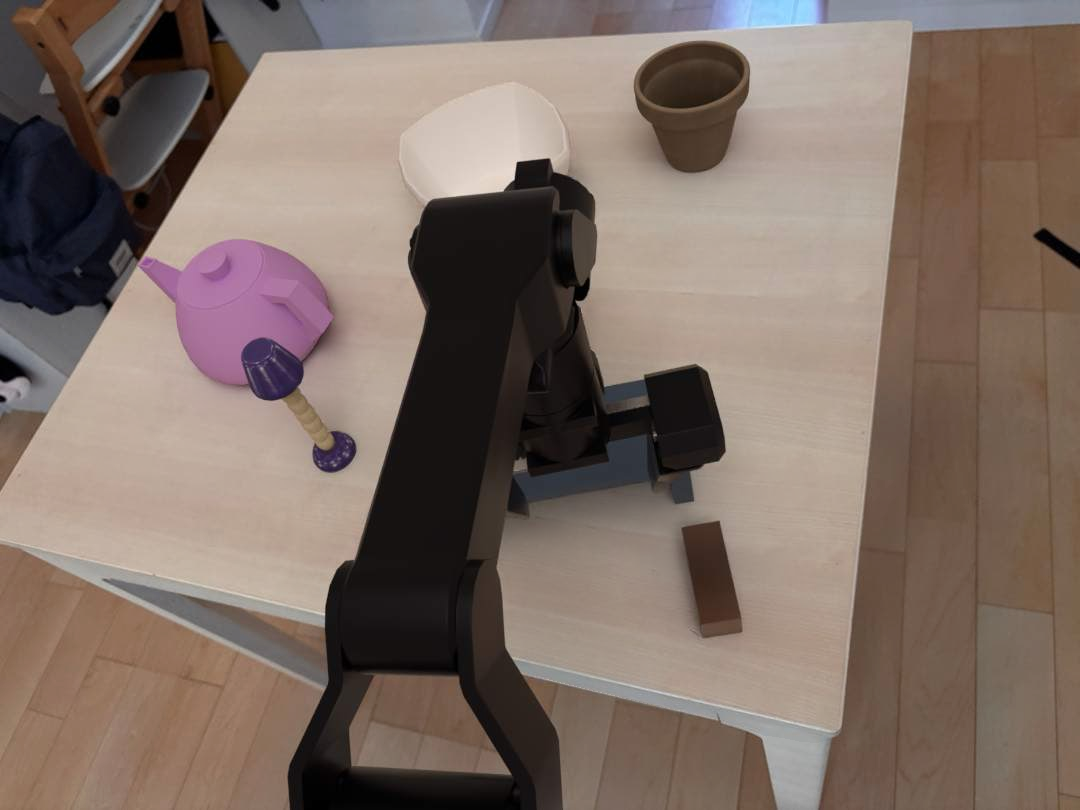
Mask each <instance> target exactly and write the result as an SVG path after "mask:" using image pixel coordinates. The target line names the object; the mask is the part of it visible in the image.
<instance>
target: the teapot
mask: <svg viewBox="0 0 1080 810" xmlns="http://www.w3.org/2000/svg"><path fill="white" fill-rule="evenodd" d="M137 267H138V268H139V269H140V270H141V271H142V272H143V273H144V274H145V275H146V276H147V277H148V278H149V279H150V280H151V281H152V282H153V283H154V284H155V285H156V286H157V287H158V288H159V289H160V290H161V291H162V292H163V293H164V294H165V295H166V297H168V298H169V299H170V300H171V302H173V303H174V305H175V319H176V320H175V321H176V328H177V333H178V336H179V339H180V343H181V345H182V347H183V349H184V351H185V353H186V354H187V356H188V358H189V360H190V361H191V363H192V364H193V365H194V366H195V368H196V369H197V370H198V371H199V372H200V373H201V374H203V375H204V376H206V377H208V378H209V379H211V380H213V381H216V382H219V383H221V384H227V385H237V386H238V385H239V386H241V385H249V383H248V380H247V377H246V374H245V371H244V368H243V365H242V361H241V353H242V351H243V349H244V347H245V346H246V345H247V344H248V343H249V342H251V341H252V340H254V339H257V338H261V337H265V338H269V339H272V340H274V341H275V342H277V343H278V344H280V345H281V346H282V347H284V348H285V349H287V350H288V351H289V352H291V353H292V354H294V355H295V356H296V357H297V358H298V359H299V360H300V361H301V362H302V361H304V360H305V359H306V358H307V357H308V355H310V354H311V352H312V350H313V349H314V348H315V346H316V344H317V343H318V341H319V339H320V338H321V337H322V334H324V333H325V331H326V329H327V328H328V326H330V324H331V322H332V321H333V319H334V318H335V315H334V314H333V313H332V312H331V311H330V310H329V298H328V294H327V290H326V288H325V286H324V284H323V283H322V281H321V280H320V279H319V277H318V276H317V274H316V273H315V272H313V270H312V269H310V267H308V266H307V265H306V264H305V263H304V262H303V261H302V260H300V259H299V258H297V257H296V256H294V255H292V254H290V253H289V252H287V251H284V250H282V249H280V248H277V247H275V246H272V245H269V244H266V243H263V242H259V241H255V240H251V239H245V238H232V239H226V240H222V241H219V242H216V243H214V244H212V245H210V246H207V247H206V248H204V249H203V250H201V251H200V252H199V253H197V254H196V255H194V257H193V258H192V259H191V260H189V262H188V263H187V264H186V265H185V267H184V268H183V270H180V269H178V268H175V267H173V266H171V265H169V264H167V263H165V262H162V261H160V260H159V259H157V258H154V257H152V256H147V255H146V256H144V257H143V258H142V259H141V261H139V263H138V264H137Z"/></svg>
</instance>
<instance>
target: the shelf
mask: <svg viewBox="0 0 1080 810" xmlns="http://www.w3.org/2000/svg"><path fill="white" fill-rule="evenodd" d="M604 388H605V393H606V394H605V395H603V398H604V401H605V404H608V403H613V402H617V401H622V400H627V399H632V398H636V397H641V396H645V395H646V394H647V389H646V384H645V380H644V378H642V379H638V380H633V381H626V382H622V383H617V384H611V385H606V386H604ZM607 450H608V456H609V461H610V462H605V463H600V464H595V465H591V466H586V467H581V468H576V469H571V470H566V471H561V472H556V473H551V474H546V475H541V476H537V477H532V478H531V476H530V474H529V472H528V471H526V472H521V473H516V474H513V475H512V476H513V477H514V479H515V480H516V482H517V484H518V485H519V487H520V488H521V490H522V491H523V493H524V495H525V498H526V500H527V503H528V504H531V503H535V502H541V501H547V500H552V499H557V498H563V497H569V496H574V495H580V494H585V493H586V494H587V493H591V492H596V491H601V490H602V491H603V490H607V489H608V490H609V489H613V488H619V487H623V486H628V485H629V486H630V485H635V484H640V483H646V482H650V478H649V474H648V468H647V434H646V435H641V436H636V437H631V438H627V439H622V440H617V441H612V442H608V444H607ZM670 485H671V488H672V493H673V499H674V503H675V505H680V504H685V503H690V502H695V494H694V489H693V481H692V474H691V471H690V472H688V473H687V474H685V475H683V476H682V477H680V478H678V479H676V480H675V481H673V482H672V483H670Z"/></svg>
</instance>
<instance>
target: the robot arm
mask: <svg viewBox="0 0 1080 810" xmlns="http://www.w3.org/2000/svg"><path fill="white" fill-rule="evenodd" d="M596 212H597V211H596V199H595V196H594V194H593V193H591V192H590V191H589V190H588V188H587V187H586V186H585V185H584V184H582V182H580V181H579V180H577V179H575V178H573V177H571V176H569V175H563V174H560V173H556V172H554V171H553V167H552V164H551V160H550V158H546V159H537V160H528V161H519V162H517V163H516V170H515V179H514V180H513V181H512V182H510V184H509V185H508V186H507V187H506V188H505V189H504V191H503V192H493V193H484V194H474V195H464V196H455V197H445V198H436V199H432V200H431V201H429V202H428V204H427V205H426V207H425V208H424V209H423V211H422V212H421V215H420V218H419V223H418V224H417V225H416V226H415V227H414V229H413V231H412V235H411V237H410V238H409V242H408V243H409V248H410V249H409V250H408V253H407V266H408V269H409V273H410V276H411V278H412V280H413V283H414V285H415V288H416V290H417V293H418V295H419V298H420V301H421V303H422V306H423V308H424V310H425V317H424V321H423V327H422V331H421V335H420V338H419V341H418V345H417V348H416V351H415V355H414V358H413V362H412V365H411V369H410V372H409V375H408V378H407V382H406V385H405V389H404V392H403V395H402V399H401V402H400V406H399V409H398V412H397V415H396V418H395V423H394V426H393V429H392V433H391V435H390V439H389V442H388V446H387V449H386V453H385V456H384V459H383V463H382V466H381V470H380V473H379V476H378V478H377V479H378V480H377V483H376V486H375V490H374V493H373V496H372V500H371V503H370V506H369V510H368V512H367V513H368V514H367V517H366V520H365V523H364V527H363V530H362V534H361V537H360V541H359V544H358V547H357V550H356V553H355V557H354V559H349V560H344V561H343V563H341V565H339V567H337V569H336V570H335V571H334V574H333V576H332V579H331V581H330V584H329V586H328V591H327V594H326V595H327V596H326V601H325V605H324V636H325V637H324V639H325V652H326V665H327V678H328V680H327V684H326V687H325V688H324V691H323V693H322V695H321V697H320V699H319V702H318V703H317V706H316V708H315V709H314V712H313V714H312V716H311V719H310V721H309V723H308V724H307V727H306V729H305V731H304V733H303V735H302V737H301V739H300V742H299V744H298V746H297V747H296V750H295V752H294V754H293V756H292V758H291V760H290V763H289V765H288V770H287V776H286V777H287V778H286V779H287V789H288V803H289V805H288V806H289V810H564V801H563V785H562V769H561V768H562V767H561V750H560V748H561V747H560V738H559V735H558V732H557V729H556V727H555V725H554V723H553V722H552V720H551V719H550V717H549V716H548V714H547V712H546V711H545V710H544V708H543V706H542V704H541V703H540V701H539V700H538V698H537V696H536V695H535V693H534V691H533V690H532V688H531V687H530V685H529V683H528V682H527V680H526V679H525V677H524V675H523V674H522V672H521V671H520V669H519V668H518V666H517V664H516V662H515V661H514V659H513V658H512V656H511V654H510V653H509V651H508V649H507V647H506V634H505V620H504V619H505V618H504V616H505V615H504V603H503V601H504V600H503V592H502V591H503V590H502V584H501V583H502V582H501V578H500V574H499V571H498V562H499V557H500V551H501V545H502V539H503V532H504V528H505V522H506V518H508V519H509V518H510V519H518V520H529V519H530V518H531V514H530V513H531V512H530V506H529V503H527V500H526V498H525V495H524V493H523V491H522V490H521V488H520V487H519V485H518V484H517V482H516V480H515V479H514V477H513V476H512V475H513V474H516V473H521V472H526V471H528V472H529V474H530V476H531V478H532V477H537V476H541V475H546V474H551V473H556V472H561V471H566V470H571V469H576V468H581V467H586V466H591V465H595V464H600V463H605V462H610V461H609V456H608V450H607V444H608V442H612V441H617V440H622V439H627V438H631V437H636V436H641V435H646V434H647V468H648V474H649V478H650V481H649V482H650V483H649V484H650V487H651V493H652V495H656V494H659V493H660V492H662V491H663V490H664V489H665V488H667V487H668V486H669V485H671V483H672V482H673V481H675V480H676V479H678V478H680V477H682V476H683V475H685V474H687V473H688V472H690V473H691V472H694V471H698V470H700V469H702V468H703V467H704V466H705V465H707V464H713V463H717V462H720V461H721V459H722V458H723V456H725V454H726V453H727V448H726V436H725V431H724V427H723V423H722V419H721V415H720V411H719V408H718V404H717V400H716V396H715V393H714V390H713V386H712V383H711V379H710V375H709V372H708V370H706V369H705V368H703V367H702V366H700V365H698V364H697V363H693V364H692V363H691V364H688V365H683V366H679V367H673V368H668V369H663V370H660V371H659V370H658V371H655V372H650V373H644V374H643V379H644V380H645V384H646V389H647V394H646V395H645V396H641V397H636V398H632V399H627V400H622V401H617V402H613V403H608V404H605V401H604V398H603V395H605V394H606V393H605V388H604V387H605V382H604V378H603V374H602V370H601V367H600V363H599V359H598V357H597V354H596V353H595V351H593V350H592V349H591V346H590V341H589V337H588V333H587V328H586V325H585V321H584V317H583V313H582V309H581V307H580V306H578V305H577V303H576V301H578V302H583V301H585V300H586V298H587V297H588V295H589V291H590V289H591V279H592V278H591V277H592V270H593V268H594V266H595V265H596V262H597V261H596V260H597V249H598V228H597V224H595V222H596ZM375 676H398V677H400V676H401V677H431V678H432V677H435V678H439V677H440V678H458V682H459V683H458V685H459V687H460V691H461V693H462V696H463V698H464V700H465V701H466V703H467V705H468V707H469V708H470V710H471V712H472V713H473V715H474V716H475V718H476V719H477V721H478V722H479V723H478V724H480V726H481V728H482V729H483V731H484V732H485V734H486V736H487V737H488V739H489V740H490V742H491V744H492V745H493V747H494V748H495V751H496V752H497V754H498V755H499V757H500V759H501V760H502V762H503V763H504V765H505V766H506V768H507V770H508V771H509V773H510V774H506V773H505V774H504V773H490V772H489V773H487V772H469V771H453V770H438V769H437V770H435V769H421V768H419V769H418V768H405V767H404V768H403V767H383V766H369V765H367V766H366V765H352V755H351V754H352V752H351V739H350V728H351V726H352V723H353V721H354V719H355V717H356V715H357V713H358V711H359V709H360V707H361V704H362V702H363V700H364V698H365V696H366V694H367V692H368V690H369V688H370V686H371V684H372V682H373V680H374V678H375Z"/></svg>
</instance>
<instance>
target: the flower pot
mask: <svg viewBox="0 0 1080 810" xmlns="http://www.w3.org/2000/svg"><path fill="white" fill-rule="evenodd" d="M750 78H751V66H750V62H749V60H748V59H747V57H746V55H744V53H742V52H741V51H740V50H739V49H737V48H736V47H734V46H732V45H729V44H727V43H724V42H720V41H715V40H714V41H713V40H690V41H683V42H679V43H675V44H672V45H669V46H667V47H665V48H663V49H661V50H658V51H657V52H655V53H654V54H652V55H651V56H649V57H648V58H647V59H646V60H645V61H644V62H643V63H642V64H641V65H640V66H639V68H638V70H637V72H635V76H634V79H633V92H634V98H635V104H636V107H637V110H638V112H639V114H640V115H641V116H642V117H643V119H645V121H646V122H648V123H649V124H651V127H652V129H653V131H654V134H655V136H656V139H657V141H658V143H659V146H660V148H661V150H662V152H663V154H664V157H665V158H666V159H667V162H668V163H669V164H670V165H671V166H672V167H673V168H675V169H676V170H679V171H682V172H687V173H696V172H697V173H698V172H703V171H707V170H709V169H711V168H713V167H715V166H717V165H718V164H720V162H722V160H723V159H724V157H725V156H726V154H727V151H728V148H729V145H730V141H731V138H732V135H733V132H734V127H735V122H736V118H737V114H738V110H739V109H740V108H741V107H742V106H743V105H744V104H745V102H746V101H747V99H748V97H749V92H750V81H751V79H750Z"/></svg>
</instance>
